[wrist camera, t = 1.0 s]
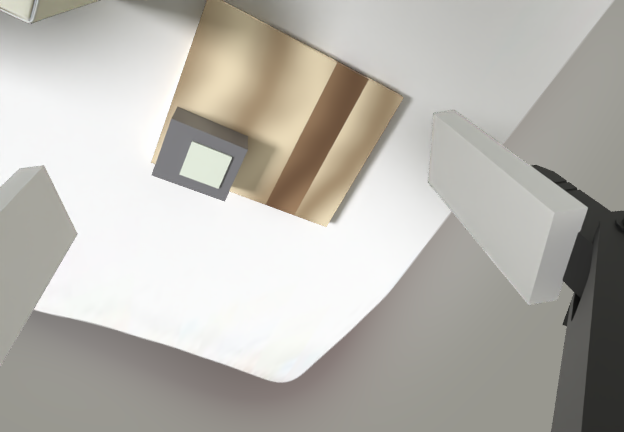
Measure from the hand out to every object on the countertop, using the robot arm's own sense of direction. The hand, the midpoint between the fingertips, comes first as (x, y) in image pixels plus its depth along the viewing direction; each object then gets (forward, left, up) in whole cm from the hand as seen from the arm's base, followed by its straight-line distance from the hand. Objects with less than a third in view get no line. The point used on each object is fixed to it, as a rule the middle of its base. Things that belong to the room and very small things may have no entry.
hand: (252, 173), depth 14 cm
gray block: (-1, -8, -20) cm, 22 cm away
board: (+4, -4, -22) cm, 22 cm away
